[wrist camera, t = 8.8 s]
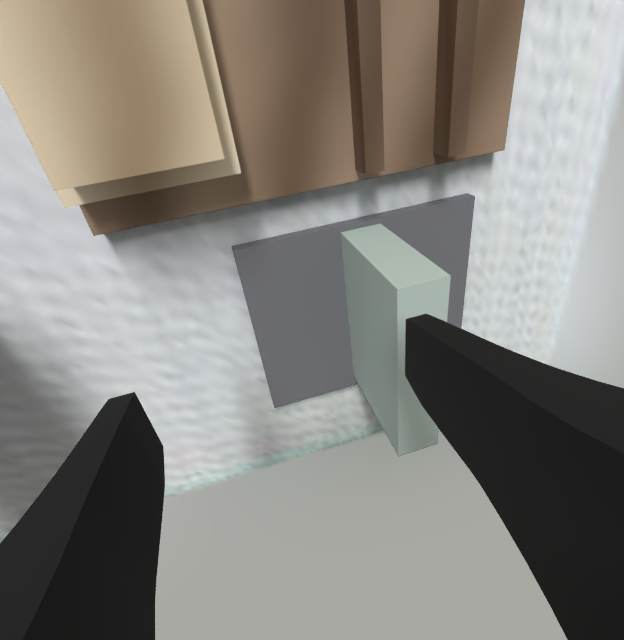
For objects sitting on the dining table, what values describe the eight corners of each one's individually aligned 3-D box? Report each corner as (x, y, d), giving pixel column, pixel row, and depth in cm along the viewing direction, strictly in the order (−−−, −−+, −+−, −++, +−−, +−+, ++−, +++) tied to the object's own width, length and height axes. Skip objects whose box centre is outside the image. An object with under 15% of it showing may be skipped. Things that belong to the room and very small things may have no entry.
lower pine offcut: (75, 197, 14) (64, 208, 13) (-105, -186, 9) (-153, -229, 8) (237, 165, 15) (241, 173, 14) (154, -199, 10) (148, -239, 9)
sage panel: (353, 375, 23) (398, 456, 18) (340, 232, 18) (397, 289, 13) (384, 366, 23) (437, 443, 18) (380, 223, 18) (450, 275, 13)
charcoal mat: (272, 401, 23) (274, 408, 22) (231, 246, 17) (233, 251, 17) (453, 349, 25) (458, 354, 24) (467, 193, 19) (474, 196, 19)
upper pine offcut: (68, 180, 12) (54, 191, 11) (-117, -213, 8) (-175, -269, 7) (221, 151, 13) (224, 158, 12) (129, -225, 9) (119, -276, 7)
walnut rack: (98, 227, 16) (86, 246, 14) (-125, -261, 9) (-205, -347, 7) (490, 147, 18) (523, 154, 16) (540, -276, 12) (604, -343, 10)
